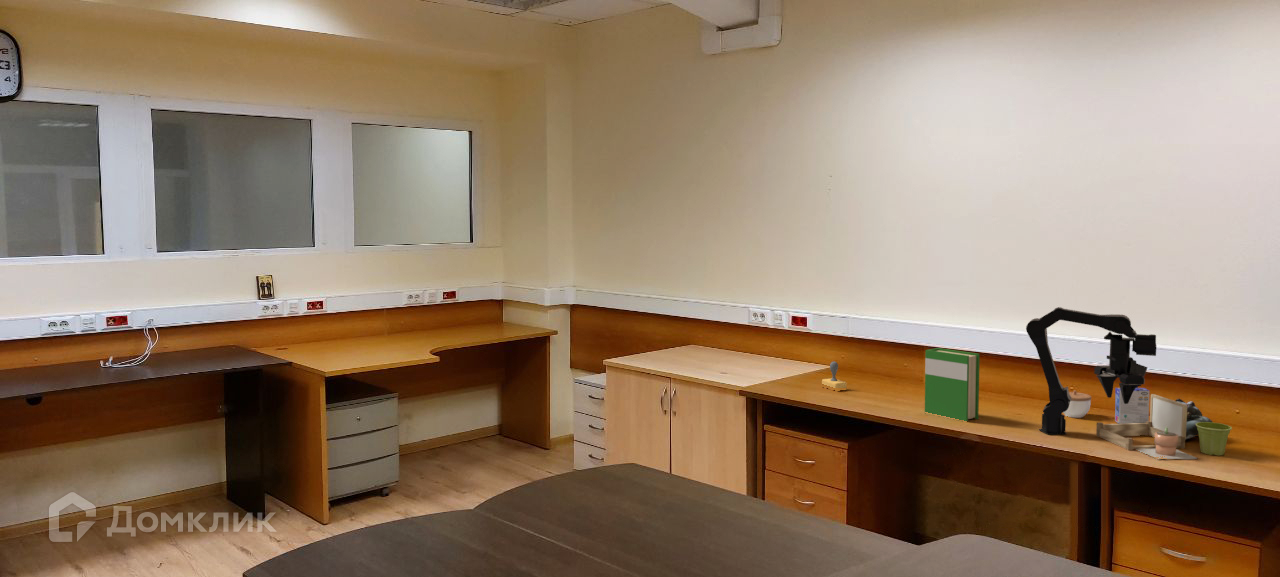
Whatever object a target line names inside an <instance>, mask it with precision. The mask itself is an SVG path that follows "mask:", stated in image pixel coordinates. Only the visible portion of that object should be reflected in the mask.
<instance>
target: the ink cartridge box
mask: <svg viewBox="0 0 1280 577" xmlns="http://www.w3.org/2000/svg"><path fill="white" fill-rule="evenodd" d="M1150 392H1151V391H1150V390H1149V389H1147V388H1146V387H1139V386H1138V387H1137V388H1135V390H1134V391H1133V393H1132V396H1131V398H1130V400H1129V403H1128V404H1124V401H1123V398H1122V394H1121V390H1120V387H1115V391H1114V393H1115V394H1114V395H1115V398H1114V399H1115V403H1114V406H1115V407H1114V409H1115V410H1114V412H1115V414H1114V421H1115V422H1116V424H1127V423H1146V421H1150Z"/></svg>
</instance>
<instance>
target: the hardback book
mask: <svg viewBox="0 0 1280 577" xmlns="http://www.w3.org/2000/svg"><path fill="white" fill-rule="evenodd" d="M980 357H981V356H980V353H975V352H968V351H961V350H957V349H956V350H955V349H954V350H953V349H947V348H940V347H937V348H930V349H925V359H924V360H925V364H924V366H925V368H924V369H925V370H924V371H925V372H924V376H925V377H924V413H925V412H928V413H932V414H937V415H941V416H946V417H950V418H955V419H959V420H964V421H968V422H969V420H970V419H973V418H976V419H975V420H979V409H980V407H979V406H980V405H979V403H980V399H979V398H980V361H981V360H980ZM959 420H958V421H959Z"/></svg>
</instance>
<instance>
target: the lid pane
mask: <svg viewBox="0 0 1280 577" xmlns="http://www.w3.org/2000/svg"><path fill="white" fill-rule="evenodd" d="M1149 421H1150V422H1152V427H1154V428H1157V429H1159V430H1162V431H1165V428H1166V427H1167V428H1168V432H1171V433H1175V434H1178V436H1182V437H1185V439H1186V423H1187V405H1186V404H1183V403H1179V402H1176V401H1175V400H1173V399H1170V398H1167V397H1164V396H1161V395H1158V394H1155V393H1151V394H1150V402H1149ZM1186 440H1187V439H1186Z"/></svg>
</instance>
